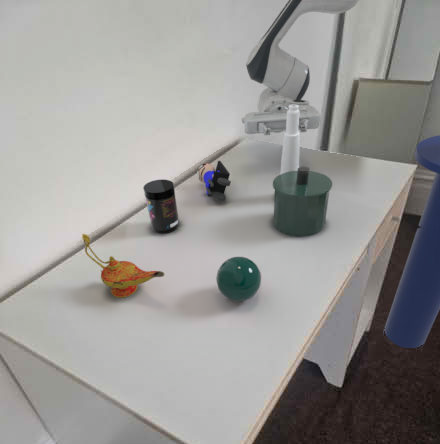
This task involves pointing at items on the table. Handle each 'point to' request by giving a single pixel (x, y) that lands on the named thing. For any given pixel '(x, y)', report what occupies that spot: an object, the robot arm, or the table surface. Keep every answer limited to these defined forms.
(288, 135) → the cosmetic bottle
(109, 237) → the table surface
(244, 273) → the sphere
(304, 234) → the pot
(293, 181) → the pot lid
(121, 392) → the table surface
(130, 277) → the magic lamp
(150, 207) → the supplement container
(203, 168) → the character figurine
